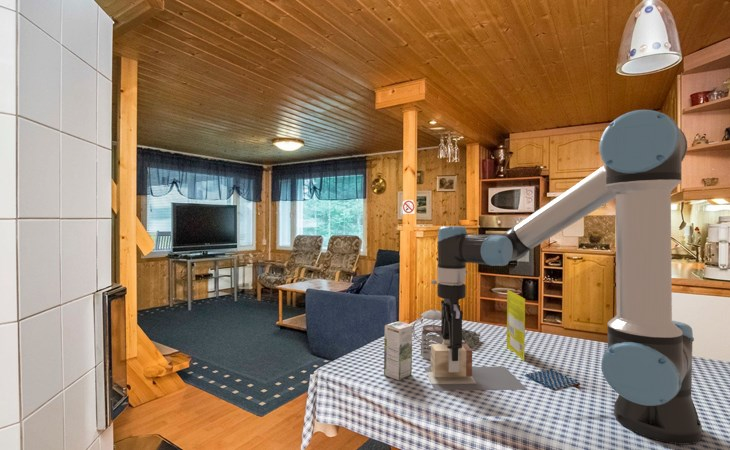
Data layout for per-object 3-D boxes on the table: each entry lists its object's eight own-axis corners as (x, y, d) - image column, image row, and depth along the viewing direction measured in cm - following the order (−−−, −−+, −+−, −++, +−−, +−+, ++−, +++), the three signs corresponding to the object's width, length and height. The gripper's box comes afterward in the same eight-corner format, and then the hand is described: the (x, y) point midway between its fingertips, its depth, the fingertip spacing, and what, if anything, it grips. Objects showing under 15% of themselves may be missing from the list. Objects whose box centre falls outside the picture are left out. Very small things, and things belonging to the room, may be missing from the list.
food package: (526, 364, 117) (526, 299, 117) (522, 364, 117) (523, 299, 117) (508, 347, 132) (509, 289, 132) (505, 346, 133) (505, 289, 132)
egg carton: (471, 349, 130) (471, 337, 130) (450, 345, 135) (450, 333, 135) (482, 341, 139) (482, 330, 139) (462, 337, 144) (462, 326, 143)
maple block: (434, 376, 102) (435, 350, 102) (430, 368, 108) (430, 343, 107) (472, 376, 102) (472, 350, 102) (465, 368, 108) (466, 343, 108)
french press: (447, 365, 115) (448, 283, 115) (409, 361, 119) (410, 281, 119) (451, 354, 125) (451, 278, 124) (415, 350, 128) (416, 276, 128)
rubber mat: (527, 392, 98) (527, 389, 98) (434, 393, 97) (434, 390, 97) (504, 369, 113) (504, 366, 113) (423, 369, 112) (423, 366, 112)
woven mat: (521, 380, 107) (521, 373, 107) (549, 374, 111) (549, 367, 111) (553, 396, 97) (553, 388, 97) (582, 389, 101) (582, 381, 101)
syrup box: (396, 369, 113) (396, 320, 112) (412, 375, 108) (412, 324, 108) (383, 375, 109) (383, 324, 108) (399, 381, 104) (399, 328, 104)
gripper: (475, 289, 95) (475, 381, 96) (456, 277, 114) (455, 354, 114) (446, 289, 95) (445, 381, 96) (430, 277, 114) (430, 355, 114)
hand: (450, 366), depth 105 cm, fingers closed on maple block, 5 cm apart
